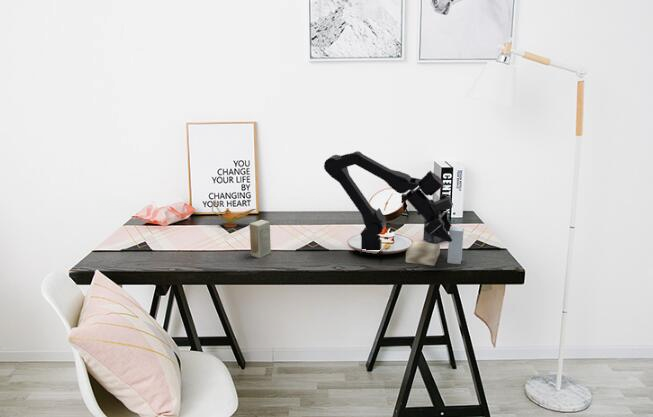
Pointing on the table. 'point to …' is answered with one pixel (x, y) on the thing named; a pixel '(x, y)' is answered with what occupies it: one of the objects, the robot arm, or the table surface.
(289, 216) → the table surface
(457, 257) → the tall block
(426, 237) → the box
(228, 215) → the magic lamp
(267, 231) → the skincare box
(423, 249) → the wooden block
